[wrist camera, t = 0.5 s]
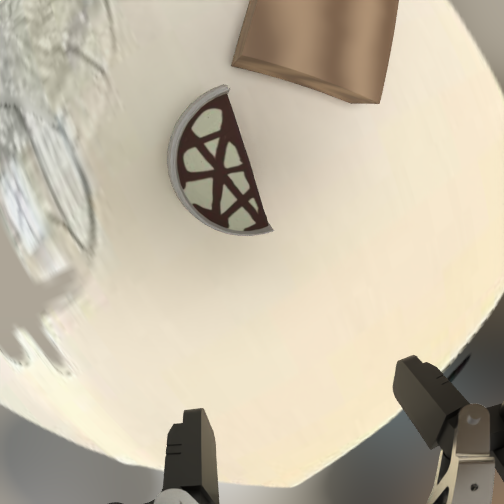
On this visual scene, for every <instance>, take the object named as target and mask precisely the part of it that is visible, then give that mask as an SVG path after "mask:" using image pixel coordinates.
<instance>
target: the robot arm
mask: <svg viewBox="0 0 504 504" xmlns="http://www.w3.org/2000/svg"><path fill="white" fill-rule="evenodd" d="M393 392H394V395H395V398H396V399H397V401H398V402H399V404H400V405H401V407H402V408H403V410H404V411H405V412H406V414H407V415H408V417H409V418H410V420H411V421H412V423H413V424H414V426H415V427H416V429H417V430H418V432H419V433H420V435H421V436H422V438H423V439H424V441H425V442H426V444H427V445H428V447H429V448H430V449H433V448H435V447H437V446H440V447H441V449H442V450H441V452H440V458H439V463H438V468H437V474H436V478H435V483H434V487H433V490H432V493H431V495H430V497H429V499H428V502H427V504H491V501H492V493H493V484H494V472H495V468H496V470H497V472H498V473H499V475H500V476H501V478H502V480H503V481H504V402H503V403H502V404H499V405H495V406H492V407H488V408H485V407H484V406H482V405H480V404H476V403H473V404H470V403H469V402H468V401H467V400H466V399H465V398H464V397H463V396H462V395H461V393H460V392H459V391H458V390H457V389H456V388H455V387H454V386H453V385H452V383H451V382H449V380H448V379H447V378H446V377H445V376H443V373H442V372H441V371H440V370H439V369H438V368H437V367H435V366H434V365H432V364H430V363H428V362H425V363H422V362H421V361H420V360H419V359H418V357H417V356H415V355H412V356H409V357H407V358H404V359H402V360H399V361H398V362H397V364H396V371H395V377H394V382H393ZM109 504H122V503H116V502H115V503H109ZM145 504H219V492H218V477H217V461H216V443H215V437H214V433H213V430H212V427H211V425H210V423H209V420H208V418H207V415H206V413H205V410H204V409H203V408H199V409H191V410H184V413H183V423H179V424H173V426H172V428H171V429H170V431H169V433H168V436H167V447H166V457H165V469H164V482H163V489H162V492H161V493H160V494H159V495H158V496H157V497H156V499H154V500H153V501H151V502H149V503H145Z"/></svg>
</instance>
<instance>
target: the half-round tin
mask: <svg viewBox="0 0 504 504" xmlns="http://www.w3.org/2000/svg"><path fill="white" fill-rule="evenodd" d="M229 90H230V88H229V89H228V87H227V86H226V85H224V84H223V85H221V86H218V87H216V88H213V89H211V90H210V91H208V92H206V93H204V94H203V95H201V96H200V97H199V98H197V99H196V100H195V101H194V102H193V103H191V104H190V105H189V107H188V108H187V109H186V110H185V111H184V112H183V114H182V115H181V117H180V118H179V120H178V122H177V123H176V125H175V127H174V130H173V132H172V135H171V137H170V142H169V146H168V155H167V165H168V173H169V177H170V181H171V184H172V187H173V189H174V191H175V193H176V195H177V197H178V198H179V200H180V201H181V203H182V204H183V205H184V207H185V208H186V209H187V210H188V211H189V212H190V213H191V214H192V215H193V216H194V217H196V218H197V219H198V220H200V221H201V222H202V223H204V224H205V225H207V226H209V227H211V228H213V229H215V230H217V231H220V232H224V233H227V234H232V235H238V236H253V235H260V234H266V233H269V232H273V231H274V230H273V228H272V227H271V226H270V224H269V223H268V221H267V217H266V215H265V212H264V209H263V206H262V202H261V199H260V196H259V192H258V189H257V186H256V182H255V179H254V175H253V172H252V168H251V165H250V162H249V159H248V156H247V153H246V150H245V147H244V144H243V141H242V138H241V134H240V131H239V128H238V125H237V122H236V119H235V116H234V113H233V110H232V107H231V104H230V101H229V98H228V95H227V93H228V92H229Z"/></svg>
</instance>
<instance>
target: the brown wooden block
mask: <svg viewBox="0 0 504 504" xmlns="http://www.w3.org/2000/svg"><path fill="white" fill-rule="evenodd" d="M398 3H399V0H250V3H249V6H248V9H247V12H246V16H245V19H244V22H243V26H242V29H241V33H240V36H239V40H238V43H237V47H236V50H235V54H234V58H233V61H232V65H231V66H233V67H238V68H242V69H246V70H250V71H254V72H258V73H262V74H265V75H269V76H273V77H276V78H280V79H283V80H286V81H290V82H293V83H296V84H299V85H302V86H305V87H308V88H311V89H314V90H317V91H320V92H322V93H325V94H328V95H331V96H333V97H336V98H339V99H341V100H344V101H346V102H349V103H351V104H352V103H366V104H380V100H381V95H382V91H383V86H384V82H385V77H386V72H387V67H388V62H389V57H390V52H391V46H392V41H393V35H394V29H395V23H396V16H397V10H398Z"/></svg>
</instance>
